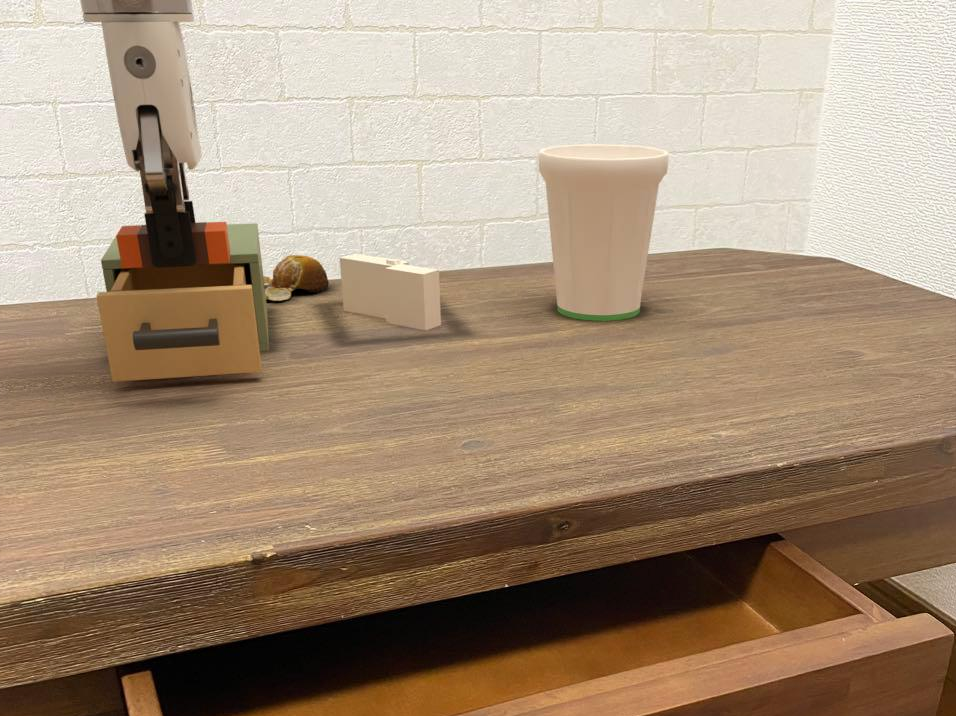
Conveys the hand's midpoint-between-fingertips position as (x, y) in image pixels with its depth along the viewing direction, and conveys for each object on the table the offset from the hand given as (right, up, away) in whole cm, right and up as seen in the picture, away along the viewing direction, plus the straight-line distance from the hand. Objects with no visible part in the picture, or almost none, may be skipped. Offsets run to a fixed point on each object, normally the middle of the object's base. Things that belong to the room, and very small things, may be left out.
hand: (176, 256), depth 82 cm
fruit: (+1, +4, +30) cm, 30 cm away
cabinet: (-3, -3, +15) cm, 15 cm away
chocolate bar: (0, 0, 0) cm, 0 cm away
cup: (+35, +1, +23) cm, 42 cm away
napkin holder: (+14, -1, +20) cm, 24 cm away
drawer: (0, -7, +4) cm, 9 cm away
